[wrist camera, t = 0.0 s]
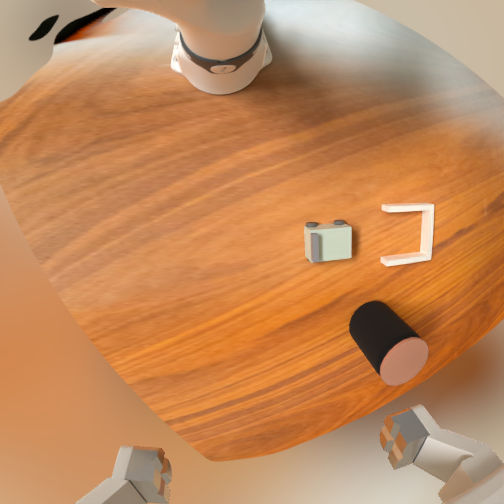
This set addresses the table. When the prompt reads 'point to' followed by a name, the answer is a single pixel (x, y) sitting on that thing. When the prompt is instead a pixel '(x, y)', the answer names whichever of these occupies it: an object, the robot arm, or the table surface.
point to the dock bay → (425, 233)
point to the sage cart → (327, 241)
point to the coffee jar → (388, 343)
